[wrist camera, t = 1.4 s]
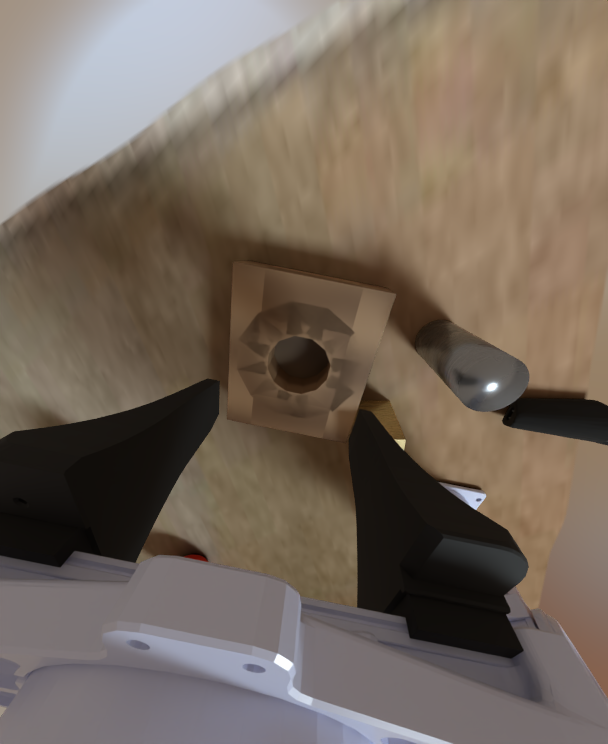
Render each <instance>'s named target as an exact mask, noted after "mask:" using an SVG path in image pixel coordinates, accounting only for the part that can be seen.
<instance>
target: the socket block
mask: <svg viewBox="0 0 608 744" xmlns="http://www.w3.org/2000/svg"><path fill="white" fill-rule="evenodd" d="M395 297H396V293H394V292H392V291H391V290H389V289H387V288H385V287H380V286H375V285H370V284H365V283H360V282H355V281H350V280H345V279H340V278H334V277H329V276H324V275H319V274H314V273H309V272H304V271H299V270H294V269H289V268H284V267H279V266H274V265H269V264H264V263H258V262H253V261H248V260H246V261H235V262H233V269H232V296H231V324H230V351H229V378H228V405H227V419H228V420H233V421H238V422H243V423H248V424H253V425H258V426H263V427H268V428H273V429H278V430H283V431H288V432H293V433H298V434H303V435H308V436H313V437H318V438H323V439H328V440H333V441H338V442H343V443H346V442H347V439H348V436H349V433H350V430H351V427H352V424H353V421H354V418H355V415H356V413H357V410H358V407H359V404H360V401H361V398H362V395H363V392H364V389H365V386H366V383H367V380H368V377H369V374H370V371H371V368H372V365H373V362H374V359H375V356H376V353H377V350H378V347H379V344H380V342H381V339H382V336H383V333H384V330H385V327H386V324H387V321H388V318H389V315H390V312H391V309H392V306H393V303H394V300H395Z"/></svg>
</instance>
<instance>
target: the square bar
mask: <svg viewBox="0 0 608 744" xmlns="http://www.w3.org/2000/svg"><path fill="white" fill-rule="evenodd" d="M359 409H362V410H367V411H371V412H372V413H373V414H374V415H375V416H376V418H377V419H378V420H379V421H380V423H381V424H382V425H383V426H384V428H385V429H386V430H387V431H388V433H389V434H390V435H391V436H392V438H393V439H394V440H395V441H396V442H397V443H398V444H399V446H400V447H401V448H402V449H403V450H404V448H405V441H406V439H405V437H404V434H403V432H402V430H401V427H400V425H399V422H398V420H397V418H396V415H395V413H394V410H393V408H392V406H391V403H390V401H360V404H359V407H358V410H357V413H356V415H355V418H354V421H353V424H352V427H351V430H350V435H351V432H352V429H353V426H354V423H355V420H356V417H357V414H358V411H359Z"/></svg>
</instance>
